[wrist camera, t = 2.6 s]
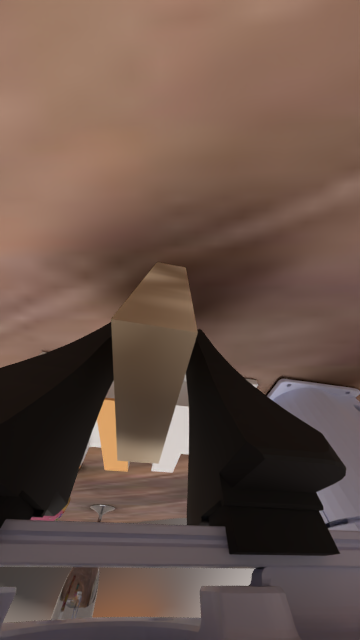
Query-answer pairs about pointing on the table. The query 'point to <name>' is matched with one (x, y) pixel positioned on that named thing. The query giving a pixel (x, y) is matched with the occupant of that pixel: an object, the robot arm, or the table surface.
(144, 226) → the table surface
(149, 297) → the block
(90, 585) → the wine glass
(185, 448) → the rack
